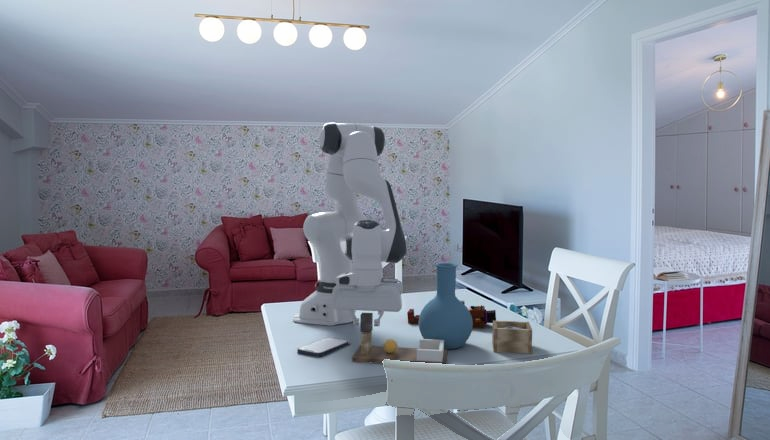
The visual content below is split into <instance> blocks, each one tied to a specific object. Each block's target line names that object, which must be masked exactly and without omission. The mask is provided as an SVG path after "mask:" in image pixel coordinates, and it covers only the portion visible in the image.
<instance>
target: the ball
mask: <svg viewBox="0 0 770 440" xmlns="http://www.w3.org/2000/svg"><path fill="white" fill-rule="evenodd" d="M383 347H384V350H385V351H386V352H387V353H394V352H395V351H396V350H397V347H399V345H398V343H397V341H396V340H394V339H392V338H389V339H387V340H385V341H384V343H383Z"/></svg>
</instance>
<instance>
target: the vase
mask: <svg viewBox="0 0 770 440" xmlns="http://www.w3.org/2000/svg"><path fill="white" fill-rule="evenodd" d="M434 265H435V267H436V296H434V297H433V298H432V299H430V300H429V301H428V302H427V303H426V304H425V305H424V306H423V308H422V309H421V311H420V313H419V315H420V316H419V323H418V329H419V332H420V335H421V337H422V339H435V340H444V350H454V349H459V348H461V347H463V346H464V345H465V344H466V343H467V341H468V340H469V338H470V336H471V334H472V331H473V328H472V326H473V322H472V317H471V314H470V312H469V310H468V308H469V307H467V306H466V305H465V304H463V303H462V302H461V301H462V300H461V299H459V298H458V297H457V295H456V284H457V283H456V281H457V267H458V266H459V264H457V263H453V262H439V263H435V264H434Z"/></svg>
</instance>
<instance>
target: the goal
mask: <svg viewBox="0 0 770 440" xmlns="http://www.w3.org/2000/svg"><path fill="white" fill-rule="evenodd" d="M419 348H420V349H417V361H435V362H442V360H443V353H444V350H445V349H444V340H435V339H423V338H420V339H419Z"/></svg>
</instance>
